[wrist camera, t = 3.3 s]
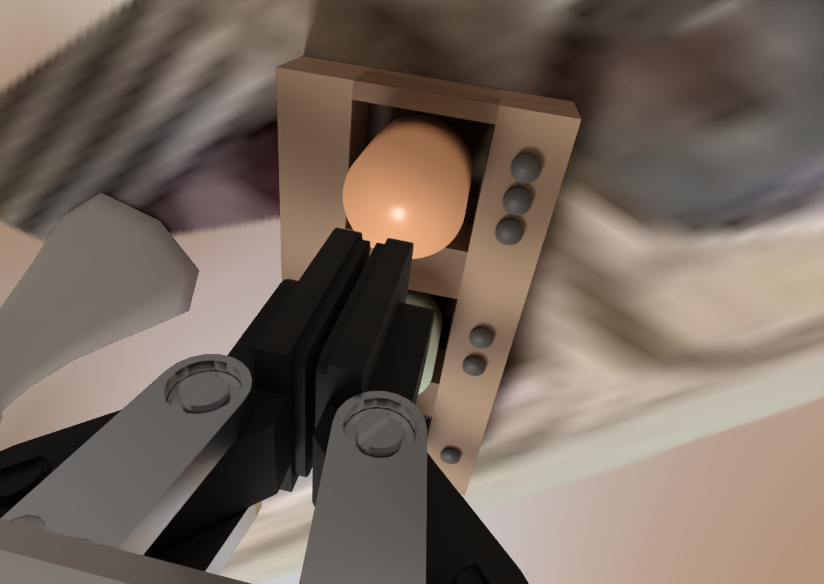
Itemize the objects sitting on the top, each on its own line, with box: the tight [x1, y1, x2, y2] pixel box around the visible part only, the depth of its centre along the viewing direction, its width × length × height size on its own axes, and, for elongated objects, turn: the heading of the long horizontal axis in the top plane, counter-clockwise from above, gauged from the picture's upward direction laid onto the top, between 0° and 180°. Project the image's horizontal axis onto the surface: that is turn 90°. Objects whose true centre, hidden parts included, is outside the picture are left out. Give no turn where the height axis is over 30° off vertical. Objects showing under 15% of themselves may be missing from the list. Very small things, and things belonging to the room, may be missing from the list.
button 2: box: [406, 289, 442, 395], centre depth 21 cm, size 4×4×3 cm
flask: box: [0, 193, 199, 422], centre depth 21 cm, size 7×7×10 cm
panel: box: [276, 56, 582, 495], centre depth 23 cm, size 20×10×3 cm, turn 173°
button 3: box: [343, 115, 472, 259], centre depth 17 cm, size 4×4×3 cm
